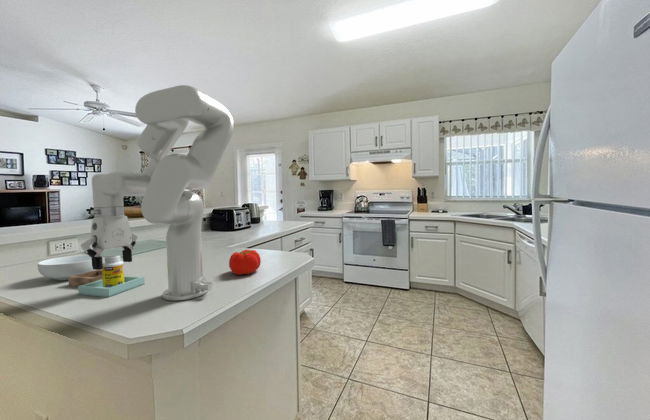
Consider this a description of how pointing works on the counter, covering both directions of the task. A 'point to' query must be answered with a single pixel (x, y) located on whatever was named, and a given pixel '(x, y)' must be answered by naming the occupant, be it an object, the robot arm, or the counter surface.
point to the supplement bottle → (113, 271)
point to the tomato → (244, 262)
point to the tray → (99, 290)
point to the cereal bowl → (65, 266)
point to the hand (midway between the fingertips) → (113, 265)
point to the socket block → (85, 278)
